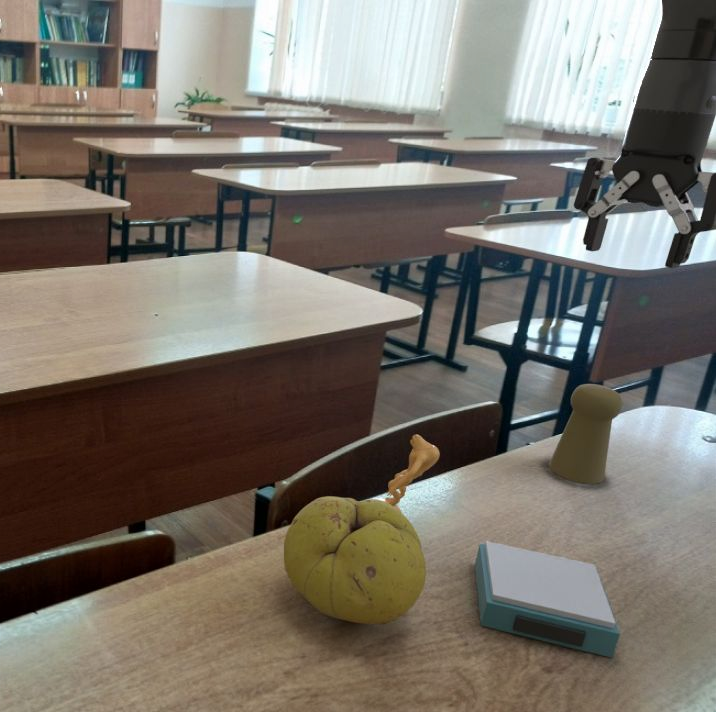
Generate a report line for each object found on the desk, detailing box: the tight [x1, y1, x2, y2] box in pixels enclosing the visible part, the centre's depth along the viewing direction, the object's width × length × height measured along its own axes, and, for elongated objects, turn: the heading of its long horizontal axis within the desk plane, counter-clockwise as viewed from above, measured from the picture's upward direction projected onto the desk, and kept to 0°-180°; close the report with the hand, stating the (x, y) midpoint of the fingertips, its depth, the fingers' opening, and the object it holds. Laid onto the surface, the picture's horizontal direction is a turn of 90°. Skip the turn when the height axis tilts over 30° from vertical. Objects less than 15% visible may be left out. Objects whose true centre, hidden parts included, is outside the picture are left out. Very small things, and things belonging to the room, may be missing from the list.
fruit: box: [283, 495, 427, 625], centre depth 62 cm, size 11×12×10 cm
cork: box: [548, 383, 623, 485], centre depth 87 cm, size 6×6×11 cm
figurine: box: [375, 434, 441, 514], centre depth 71 cm, size 8×6×12 cm
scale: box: [474, 540, 621, 659], centre depth 64 cm, size 10×9×3 cm
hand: (630, 258), depth 83 cm, fingers open, 8 cm apart
